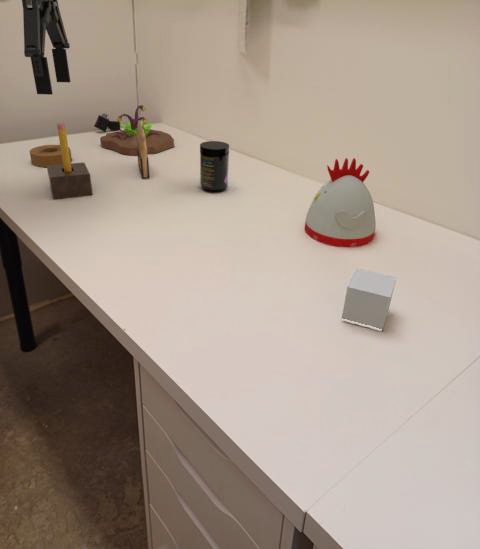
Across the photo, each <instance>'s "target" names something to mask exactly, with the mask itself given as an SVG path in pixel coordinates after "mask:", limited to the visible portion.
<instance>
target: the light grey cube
mask: <svg viewBox="0 0 480 549" xmlns="http://www.w3.org/2000/svg"><path fill="white" fill-rule="evenodd" d="M396 281H397V276H392V275H388V274H384V273H381V272H375V271H371V270H367V269H363V268H358V267H356V268H355V269H354V271H353V273H352V275H351V278H350V280H349V282H348V285H347V288H346V293H345V298H344V303H343V309H342V313H341V314H342V315H341V319H342V318H343V319H347V320H350V321H354V322H358V323H361V324H365V325H370V326H373V327H376V328H379V329H383V330H384V327H385V323H386V321H387V317H388V313H389V310H390V306H391V301H392V297H393V293H394V289H395V285H396Z"/></svg>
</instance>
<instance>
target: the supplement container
mask: <svg viewBox="0 0 480 549" xmlns="http://www.w3.org/2000/svg"><path fill="white" fill-rule="evenodd" d="M229 159H230V144H229V143H227V142H224V141H221V140H208V141H204V142H203V141H202V142H201V143H200V144H199V167H200V168H199V169H200V170H199V175H200V176H199V180H200V182H199V186H200V188H201V190H202V191H204V192H207V193H222V192H225V191H226V190H227V189H228V188H229V166H230V164H229V163H230V160H229Z"/></svg>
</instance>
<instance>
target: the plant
mask: <svg viewBox="0 0 480 549" xmlns="http://www.w3.org/2000/svg"><path fill="white" fill-rule="evenodd" d="M139 109H140V111H141V112H145V111H146V107H145V105H142V104H140V105H139V104H138V105H137V107H136V109H135V112H134V118H133V117H132V116H131V115H129V114H127V113H123V114H121V115H119V116H117V118H116V121H118V122H120V127H122V128H123V129H120V130H118V131H113V132H108V133H106V134H105V135H102V136H100V138H99V141H100V146H101V147H102V148H104V149H107V150H111V151H114V152H117V153H119V154H121V155H127V156H137V157H138V153H137V147H138V145H137V125H138V120H140V122H141V125H142V128H143V130H144V133H145V140H146V146H147V155H148V154H149V155H151V154H152V155H154V154H158V153H160V152H163V151H165V150H168V149H172V148H174V147H175V139H174V138H173V136H172V135H171V134H170V133H168V132H165V131H162V130H155V129H151V128H152V127H153V126H154V122H152V123H148V120H147V119H146V118H145V117H144V116H141V117H139ZM123 117H127V119H128V120H129V121H126V124H124V123H121V122H122V121H123Z"/></svg>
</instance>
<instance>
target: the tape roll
mask: <svg viewBox="0 0 480 549" xmlns="http://www.w3.org/2000/svg"><path fill="white" fill-rule="evenodd" d="M68 149H69V156H70V162H72V161H73V158H72V151H71V148H70V147H69V146H68ZM29 157H30V162H31V165H33V166H35V167H40V168H47V166H48V165H59V164H63V160H62V154H61V147H60V144H44V145H39V146H35V147H32V148H30V149H29Z"/></svg>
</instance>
